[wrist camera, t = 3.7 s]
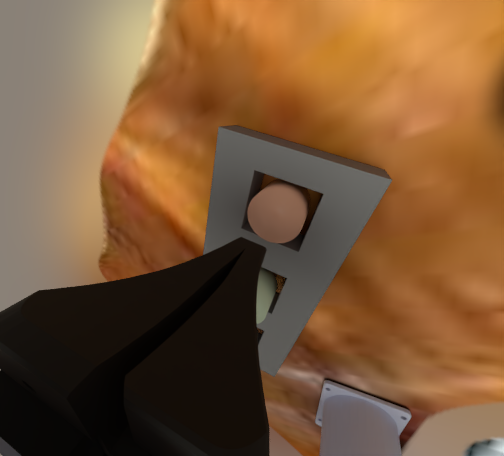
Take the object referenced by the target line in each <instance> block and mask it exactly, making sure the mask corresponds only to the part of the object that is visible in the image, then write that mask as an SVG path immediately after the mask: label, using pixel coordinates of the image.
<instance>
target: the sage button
mask: <svg viewBox="0 0 504 456" xmlns="http://www.w3.org/2000/svg"><path fill="white" fill-rule="evenodd" d="M276 290H277V280H276V277H275V276H274V274H273V273H272V272H271V271H269V270H267V269H265V268H263V267H261V269H260V272H259V278H258V286H257V303H256V321H257V324H259V323H261V322H262V321H264V319H265V317H266V315H267V312H268V310H269V307H270V305H271V302H272V300H273V297H274V295H275V292H276Z"/></svg>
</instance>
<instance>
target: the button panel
mask: <svg viewBox="0 0 504 456" xmlns="http://www.w3.org/2000/svg"><path fill="white" fill-rule="evenodd" d="M264 174H267V175H270V176H273V177H276V178H279V179H282V180H285V181H288V182H291V183H294V184H296V185H299V186H302V187H305V188H308V189H311V190H314V191H317V192H320V193H322V196H321V198H320V200H319V203H318V205H317V207H316V210H315V212H314V214H313V217H312V219H311V221H310V223H309V226H308V228H307V230H306V233H305V235H302V234H300V233H299V234H298V235H297V237H295V238H294V239H293V240H291V241H289V242H285V243H272V242H269V241H266V240H264V239H262V238H261V237H259V236H258V235H257V234H256V233H255V232H254V231H253V229H252V228H251V226H250V224H249V221H248V215H247V214H248V207H249V204H250V202H251V200H252V199H253V198H254V197H255V196H256V195H257V194H258V193H259V192H260V188H261V184H262V180H263V176H264ZM391 181H392V179H391V178H390V176H389V175H388V174H387V172H386V171H385V170H383V169H380V168H377V167H373V166H370V165H367V164H363V163H360V162H357V161H353V160H350V159H347V158H343V157H340V156H337V155H334V154H330V153H327V152H324V151H320V150H317V149H314V148H310V147H307V146H304V145H300V144H297V143H294V142H290V141H287V140H284V139H280V138H277V137H274V136H270V135H267V134H264V133H260V132H257V131H254V130H250V129H247V128H244V127H240V126H237V125H234V126H221V127H219V129H218V137H217V146H216V154H215V162H214V170H213V178H212V187H211V195H210V203H209V211H208V219H207V228H206V236H205V244H204V252H203V255H204V254H207V253H209V252H211V251H213V250H215V249H217V248H219V247H221V246H223V245H225V244H227V243H229V242H231V241H233V240H235V239H237V238H239V237H243V238H245V239H248V240H250V241H252V242H255V243H257V244H259V245H262V246H264V247H266V249H267V251H266V254H265V257H264V260H263V263H262V266H261V267H263V268H265V269H267V270H269V271H271V272H274V273H276V274H278V275H280V276H283V277H285V278H286V279H285V282H284V284H283V286H282V289H281V291H280V293H279V294H278V293H276V292H275V295H274V297H273V300H272V302H271V305H270V307H269V310H268V312H267V315H266V317H265V319H264V321H262V322H261V323H259V324H257V328H259V329H261V330H263V333H262V334H260V333H258V336H257V340H258V351H259V363H260V369H261V370H263V371H265V372H267V373H268V374H270V375H272V376H274V377H275V375H276V373H277V372H278V370H279V368H280V367H281V365H282V363H283V362H284V360H285V358H286V357H287V355H288V353H289V352H290V350H291V348H292V347H293V345H294V343H295V342H296V340H297V338H298V337H299V335H300V333H301V331H302V330H303V328H304V326H305V325H306V323H307V321H308V320H309V318H310V316H311V315H312V313H313V311H314V310H315V308H316V306H317V305H318V303H319V301H320V300H321V298H322V296H323V295H324V293H325V291H326V290H327V288H328V286H329V285H330V283H331V281H332V280H333V278H334V276H335V275H336V273H337V271H338V270H339V268H340V266H341V265H342V263H343V261H344V260H345V258H346V256H347V255H348V253H349V251H350V250H351V248H352V246H353V245H354V243H355V241H356V240H357V238H358V236H359V235H360V233H361V231H362V230H363V228H364V226H365V225H366V223H367V221H368V220H369V218H370V216H371V215H372V213H373V211H374V210H375V208H376V206H377V205H378V203H379V201H380V200H381V198H382V196H383V195H384V193H385V191H386V190H387V188H388V186H389V185H390V183H391Z"/></svg>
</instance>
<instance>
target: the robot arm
mask: <svg viewBox="0 0 504 456" xmlns="http://www.w3.org/2000/svg"><path fill="white" fill-rule="evenodd" d="M266 251H267V249H266V247H264V246H262V245H259V244H257V243H255V242H252V241H250V240H248V239H245V238H243V237H239V238H237V239H235V240H233V241H231V242H229V243H227V244H225V245H223V246H221V247H219V248H217V249H215V250H213V251H211V252H209V253H207V254H204V255H202V256H199V257H197V258H195V259H192V260H190V261H187V262H184V263H182V264H179V265H176V266H173V267H170V268H166V269H163V270H160V271H156V272H152V273H148V274H144V275H139V276H135V277H131V278H126V279H121V280H116V281H110V282H104V283H98V284H92V285H84V286H76V287H67V288H58V289H50V290H39V291H37V292H35V293H33V294H32V295H30V296H28V297H26V298H25V299H23V300H21V301H19V302H18V303H16V304H14V305H12V306H10V307H9V308H7V309H5V310H3V311H1V312H0V369H1V371H0V453H1V454H2V455H3V456H269V423H268V417H267V412H266V406H265V399H264V393H263V387H262V379H261V371H260V363H259V351H258V340H257V321H256V303H257V286H258V278H259V272H260V269H261V266H262V263H263V260H264V257H265V254H266ZM410 419H411V412H410V411H409V410H407V409H405V408H403V407H400V406H397V405H394V404H392V403H389V402H386V401H383V400H381V399H378V398H375V397H373V396H370V395H367V394H364V393H362V392H359V391H356V390H354V389H351V388H348V387H345V386H343V385H340V384H337V383H334V382H332V381H329V380H325V381H324V384H323V388H322V393H321V397H320V401H319V406H318V410H317V414H316V419H315V423H316V424H317V425H319V426H321V427H322V430H321V443H320V456H402V453H401V447H400V441H399V435H400V434H401V432H402V431H403V429H404V428H405V426H406V425H407V423H408V422H409V420H410Z"/></svg>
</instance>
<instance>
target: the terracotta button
mask: <svg viewBox="0 0 504 456" xmlns="http://www.w3.org/2000/svg"><path fill="white" fill-rule="evenodd" d="M310 204H311V201H310V195H309V193H308V191H307V189H306V188H305V187H302V186H299V185H296V184H294V183H291V182H288V181H285V180H282V179H276V180H274V181H272V182H271V183H270V184H268V185H267V186H266V187H265V188H264V189H263V190H262V191H260V192H259V193H258V194H257V195H256V196H255V197H254V198H253V199H252V200H251V202H250V204H249V207H248V214H247V215H248V221H249V224H250V226H251V228H252V229H253V231H254V232H255V233H256V234H257V235H258V236H259V237H261V238H262V239H264V240H266V241H269V242H272V243H285V242H289V241H291V240H293V239H294V238H295V237H297V235H298V234H299V233H300V231H301V229H302V227H303V225H304V222H305V219H306V217H307V214H308V212H309V209H310Z"/></svg>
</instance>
